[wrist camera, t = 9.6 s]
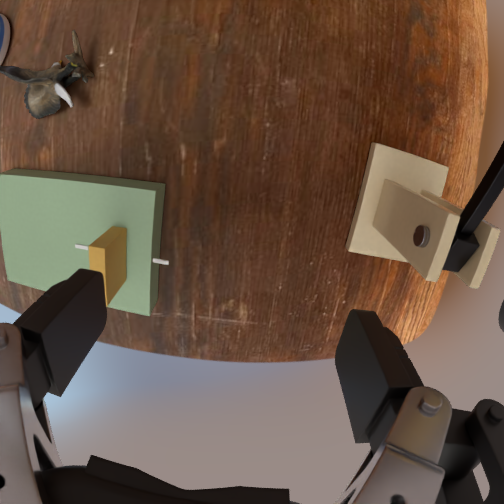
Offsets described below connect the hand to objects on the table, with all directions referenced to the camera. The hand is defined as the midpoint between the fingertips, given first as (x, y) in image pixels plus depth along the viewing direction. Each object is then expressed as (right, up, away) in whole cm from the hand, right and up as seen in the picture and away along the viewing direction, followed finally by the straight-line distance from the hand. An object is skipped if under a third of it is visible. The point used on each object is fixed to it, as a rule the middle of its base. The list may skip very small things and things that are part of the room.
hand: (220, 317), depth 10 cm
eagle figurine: (-17, +18, +13) cm, 29 cm away
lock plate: (-16, +4, +19) cm, 26 cm away
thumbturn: (-11, +2, +17) cm, 20 cm away
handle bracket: (+14, +6, +18) cm, 24 cm away
